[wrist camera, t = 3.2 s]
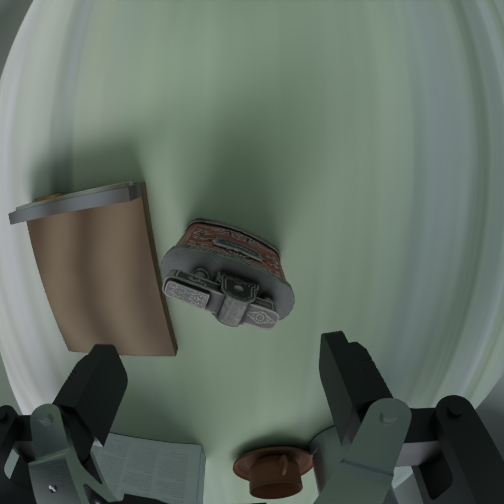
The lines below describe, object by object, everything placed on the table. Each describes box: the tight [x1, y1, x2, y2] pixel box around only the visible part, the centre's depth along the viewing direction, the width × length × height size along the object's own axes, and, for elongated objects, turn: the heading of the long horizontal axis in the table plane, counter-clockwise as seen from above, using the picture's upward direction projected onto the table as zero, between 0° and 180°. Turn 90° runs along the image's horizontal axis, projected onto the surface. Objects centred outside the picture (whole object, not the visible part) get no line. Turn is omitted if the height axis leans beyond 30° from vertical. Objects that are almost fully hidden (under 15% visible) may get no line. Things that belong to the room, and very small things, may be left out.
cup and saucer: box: [233, 446, 313, 499], centre depth 31 cm, size 12×12×6 cm
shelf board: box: [9, 181, 178, 356], centre depth 22 cm, size 13×17×4 cm
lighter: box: [160, 218, 294, 330], centre depth 18 cm, size 8×3×10 cm, turn 68°
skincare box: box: [91, 433, 206, 504], centre depth 26 cm, size 21×5×16 cm, turn 90°
